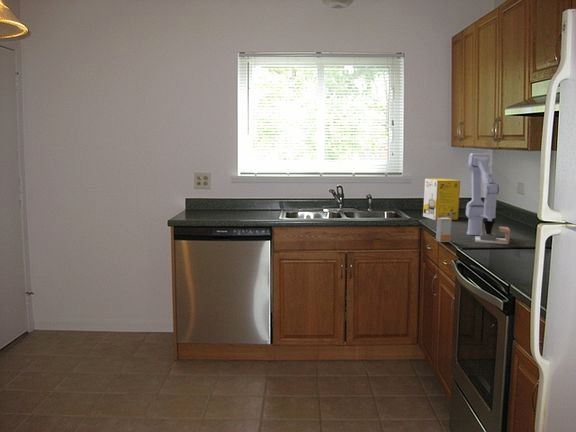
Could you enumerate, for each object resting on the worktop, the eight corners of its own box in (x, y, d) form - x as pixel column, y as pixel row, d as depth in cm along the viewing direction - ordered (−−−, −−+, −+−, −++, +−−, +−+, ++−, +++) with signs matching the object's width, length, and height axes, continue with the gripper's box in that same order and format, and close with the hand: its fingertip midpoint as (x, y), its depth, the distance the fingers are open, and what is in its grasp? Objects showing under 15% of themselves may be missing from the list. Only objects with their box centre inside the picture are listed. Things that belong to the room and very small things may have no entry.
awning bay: (475, 238, 319) (475, 225, 318) (507, 240, 315) (508, 227, 314) (475, 242, 308) (476, 228, 307) (509, 244, 303) (510, 230, 302)
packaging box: (422, 216, 400) (424, 178, 396) (444, 216, 404) (447, 178, 400) (435, 220, 384) (437, 180, 381) (457, 219, 388) (460, 180, 385)
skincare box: (439, 242, 304) (441, 218, 302) (435, 240, 308) (436, 217, 306) (450, 242, 306) (451, 218, 304) (446, 240, 310) (447, 217, 308)
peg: (484, 237, 313) (485, 226, 312) (490, 238, 313) (492, 227, 312) (484, 238, 310) (486, 227, 309) (490, 239, 310) (492, 228, 309)
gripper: (481, 204, 317) (479, 230, 319) (482, 208, 303) (480, 234, 305) (495, 205, 315) (493, 231, 317) (497, 208, 302) (495, 235, 303)
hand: (488, 233), depth 311 cm, fingers open, 4 cm apart
